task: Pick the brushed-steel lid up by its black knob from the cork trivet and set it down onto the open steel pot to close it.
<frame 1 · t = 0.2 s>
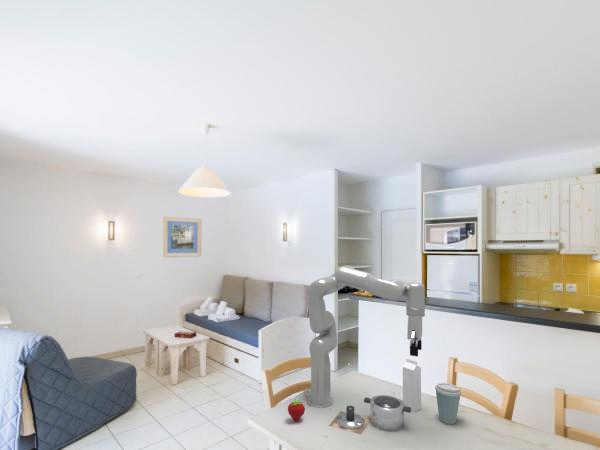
hand: (415, 352, 144), 31 cm above the table, fingers open, 9 cm apart
pot: (387, 424, 144), on the table
milk: (412, 408, 159), on the table
trivet: (350, 423, 145), on the table
disposable coffee cup: (448, 420, 148), on the table
lid: (350, 421, 145), point 1 cm above the table, touching trivet
strawberry: (296, 422, 145), on the table
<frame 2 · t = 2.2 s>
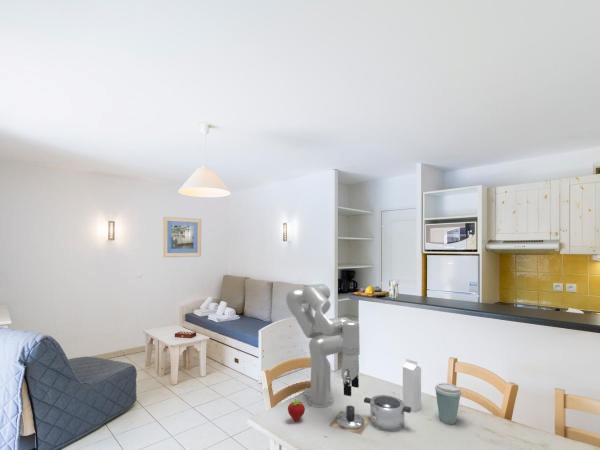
hand: (351, 391, 145), 14 cm above the table, fingers open, 9 cm apart
nothing on the table moved.
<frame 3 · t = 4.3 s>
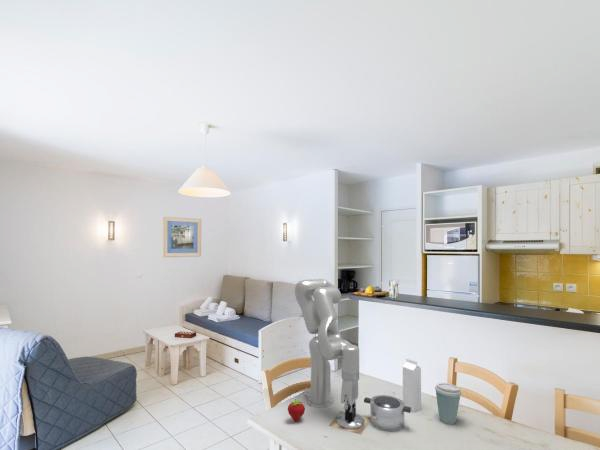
hand: (350, 418, 145), 2 cm above the table, fingers closed on lid, 3 cm apart
lid: (350, 421, 145), point 1 cm above the table, touching gripper, trivet
everything else where it was.
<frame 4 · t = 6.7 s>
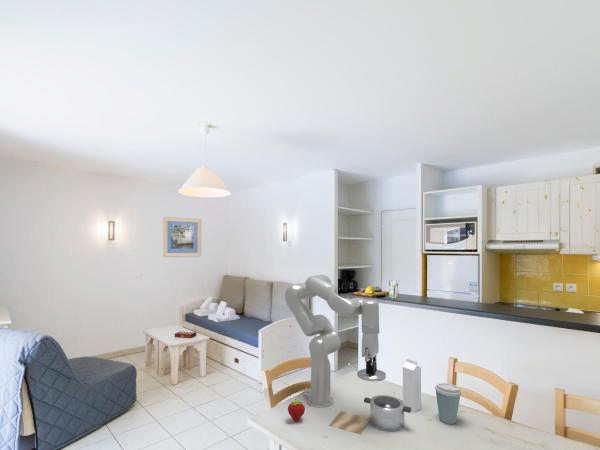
hand: (371, 372, 145), 22 cm above the table, fingers closed on lid, 3 cm apart
lid: (371, 375, 145), point 20 cm above the table, touching gripper
everything else where it was.
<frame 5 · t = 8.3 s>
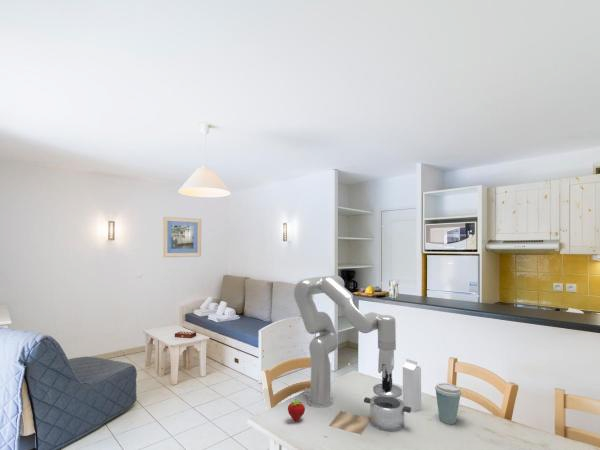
hand: (387, 387, 145), 15 cm above the table, fingers closed on lid, 3 cm apart
lid: (387, 391, 145), point 14 cm above the table, touching gripper
everything else where it was.
when the fingers open (12 cm above the table, at t = 9.5 s): lid drops 2 cm, resting on pot.
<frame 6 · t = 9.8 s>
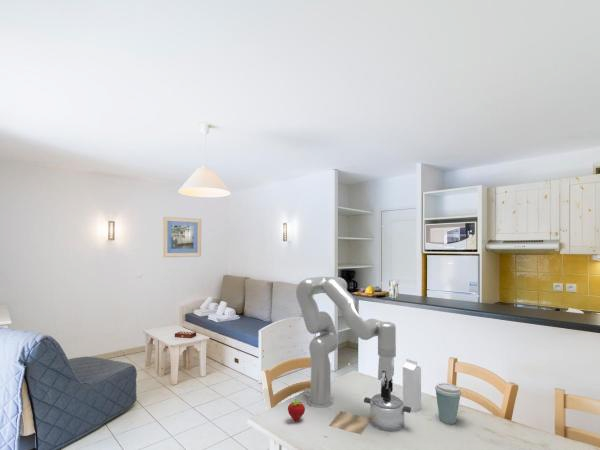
hand: (386, 393, 145), 13 cm above the table, fingers open, 6 cm apart
lid: (386, 402, 145), point 9 cm above the table, touching pot
everything else where it was.
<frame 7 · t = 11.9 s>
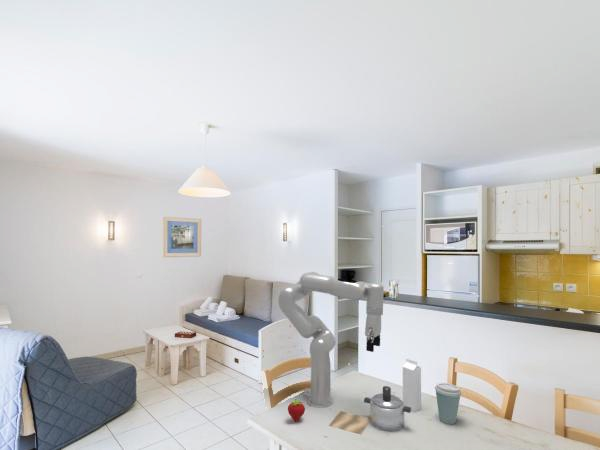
hand: (373, 348, 155), 29 cm above the table, fingers open, 9 cm apart
nothing on the table moved.
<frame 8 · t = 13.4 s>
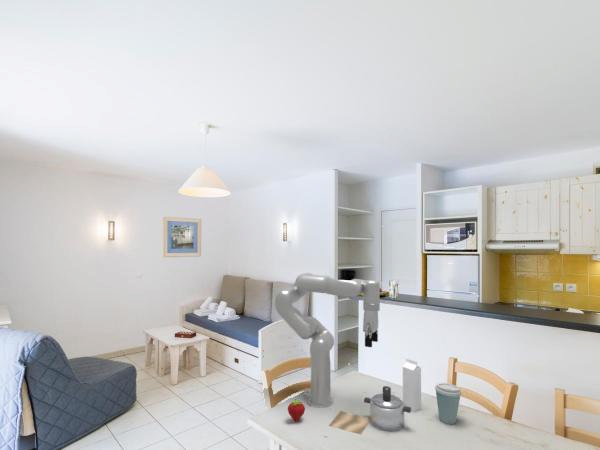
hand: (371, 344, 157), 30 cm above the table, fingers open, 9 cm apart
nothing on the table moved.
at the end: lid 0.1 cm off-centre on the pot, point 9.1 cm above the pot's base; lid tilted 0°; the gripper is holding nothing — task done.
